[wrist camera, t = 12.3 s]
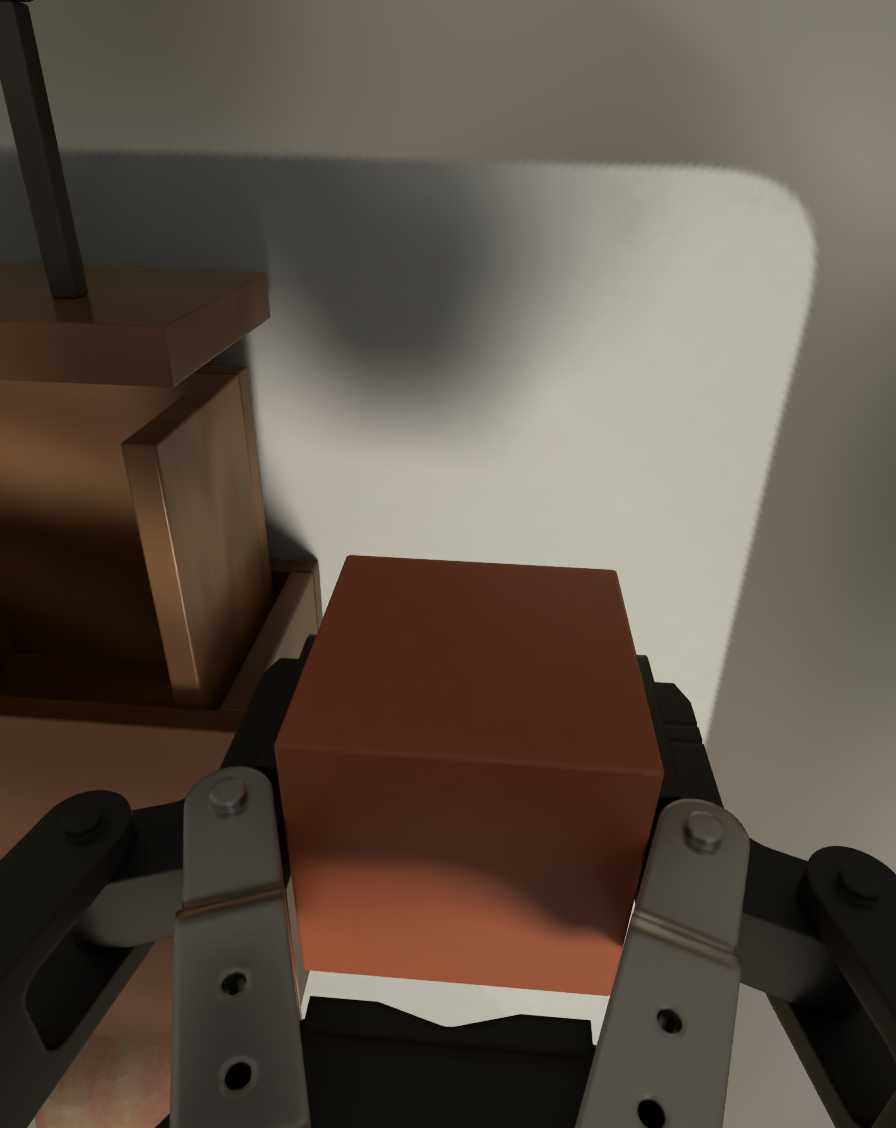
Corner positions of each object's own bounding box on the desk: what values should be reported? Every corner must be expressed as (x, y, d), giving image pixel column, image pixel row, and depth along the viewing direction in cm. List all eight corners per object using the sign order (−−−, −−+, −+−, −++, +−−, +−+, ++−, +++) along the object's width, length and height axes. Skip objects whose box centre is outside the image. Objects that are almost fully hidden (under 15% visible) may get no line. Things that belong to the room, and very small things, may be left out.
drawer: (-240, -48, 17) (-627, -146, 11) (236, -44, 17) (85, -143, 11) (0, 648, 27) (-140, 787, 22) (304, 669, 27) (245, 817, 21)
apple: (82, 1001, 41) (-6, 1177, 34) (101, 924, 37) (6, 1104, 30) (221, 1041, 42) (163, 1220, 35) (253, 970, 38) (194, 1154, 31)
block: (345, 552, 14) (271, 745, 9) (617, 568, 14) (666, 772, 9) (356, 749, 16) (302, 972, 12) (585, 766, 16) (612, 999, 12)
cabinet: (-33, 540, 26) (-249, 698, 19) (318, 560, 26) (238, 732, 18) (65, 825, 34) (-63, 1020, 26) (340, 846, 33) (289, 1054, 25)
